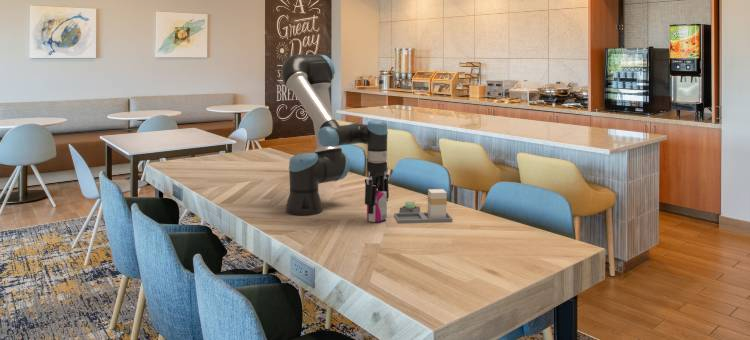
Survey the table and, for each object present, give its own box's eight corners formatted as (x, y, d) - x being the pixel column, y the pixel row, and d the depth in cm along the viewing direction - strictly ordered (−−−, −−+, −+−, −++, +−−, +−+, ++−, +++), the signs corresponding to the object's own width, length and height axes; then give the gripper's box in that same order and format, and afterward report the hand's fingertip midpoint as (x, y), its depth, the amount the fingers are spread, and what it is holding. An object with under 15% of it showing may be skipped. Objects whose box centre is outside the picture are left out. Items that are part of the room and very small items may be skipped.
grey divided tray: (398, 225, 219) (398, 220, 218) (394, 218, 229) (394, 213, 228) (452, 224, 221) (452, 218, 221) (446, 217, 231) (446, 211, 231)
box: (430, 220, 222) (431, 193, 220) (427, 216, 228) (428, 189, 226) (446, 220, 223) (447, 192, 221) (442, 216, 229) (443, 189, 226)
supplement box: (375, 217, 230) (375, 189, 228) (387, 220, 226) (387, 191, 224) (366, 220, 225) (366, 191, 223) (378, 223, 222) (378, 194, 220)
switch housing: (399, 215, 233) (399, 207, 233) (407, 211, 238) (407, 204, 238) (412, 217, 230) (412, 210, 230) (419, 214, 235) (419, 206, 235)
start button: (403, 213, 234) (403, 203, 233) (408, 211, 237) (408, 201, 236) (411, 215, 232) (411, 204, 231) (416, 212, 235) (416, 202, 234)
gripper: (371, 166, 211) (371, 226, 216) (398, 158, 227) (397, 215, 232) (354, 163, 215) (354, 223, 220) (382, 156, 231) (381, 212, 236)
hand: (376, 219), depth 226 cm, fingers closed on supplement box, 6 cm apart
